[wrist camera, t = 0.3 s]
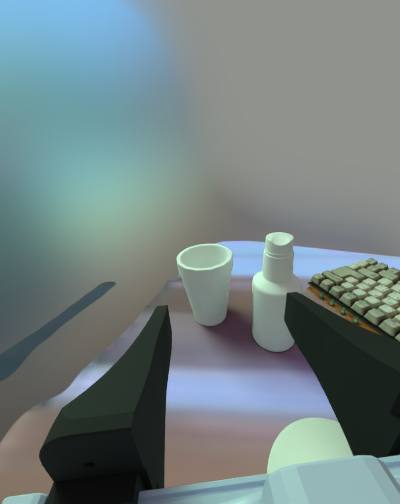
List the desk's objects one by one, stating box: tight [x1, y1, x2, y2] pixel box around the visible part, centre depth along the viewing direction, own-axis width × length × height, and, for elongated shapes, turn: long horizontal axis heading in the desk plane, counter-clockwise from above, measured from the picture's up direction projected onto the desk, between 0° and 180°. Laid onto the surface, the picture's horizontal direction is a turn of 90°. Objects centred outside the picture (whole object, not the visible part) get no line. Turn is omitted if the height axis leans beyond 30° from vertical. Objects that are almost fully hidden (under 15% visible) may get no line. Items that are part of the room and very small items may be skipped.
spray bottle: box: [252, 232, 302, 352], centre depth 32 cm, size 7×7×18 cm
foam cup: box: [177, 244, 233, 326], centre depth 39 cm, size 10×9×13 cm
